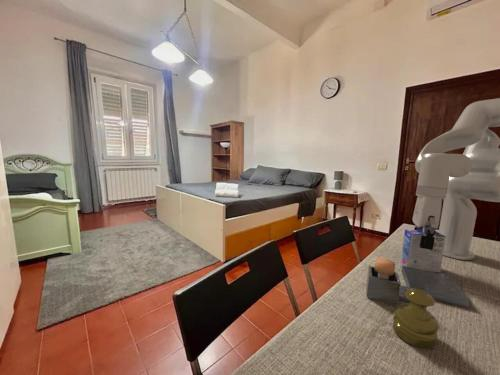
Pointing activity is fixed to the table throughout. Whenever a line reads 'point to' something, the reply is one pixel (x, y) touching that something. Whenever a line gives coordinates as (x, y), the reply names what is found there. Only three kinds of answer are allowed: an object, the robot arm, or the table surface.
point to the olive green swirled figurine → (416, 320)
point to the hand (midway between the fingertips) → (421, 243)
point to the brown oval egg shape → (384, 267)
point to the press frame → (414, 286)
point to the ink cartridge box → (422, 251)
